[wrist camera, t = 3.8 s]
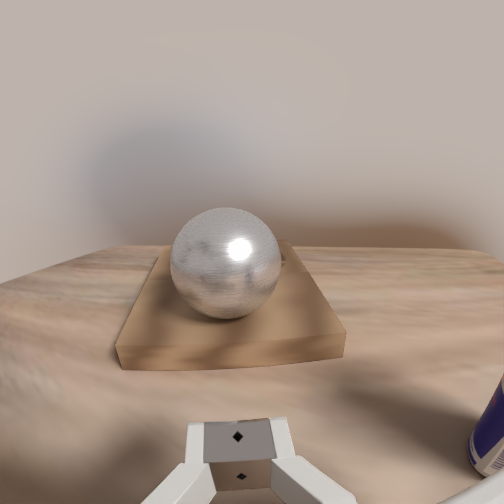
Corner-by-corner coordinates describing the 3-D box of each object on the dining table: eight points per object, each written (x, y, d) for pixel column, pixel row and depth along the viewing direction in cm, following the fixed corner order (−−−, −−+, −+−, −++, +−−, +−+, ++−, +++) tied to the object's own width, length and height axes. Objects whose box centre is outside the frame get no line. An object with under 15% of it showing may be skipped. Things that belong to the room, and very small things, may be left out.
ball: (170, 343, 23) (153, 226, 20) (182, 291, 31) (173, 202, 28) (289, 336, 24) (292, 219, 21) (272, 286, 32) (271, 197, 29)
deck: (122, 369, 23) (115, 345, 22) (166, 261, 47) (164, 245, 46) (342, 356, 24) (346, 331, 24) (286, 255, 48) (286, 239, 47)
